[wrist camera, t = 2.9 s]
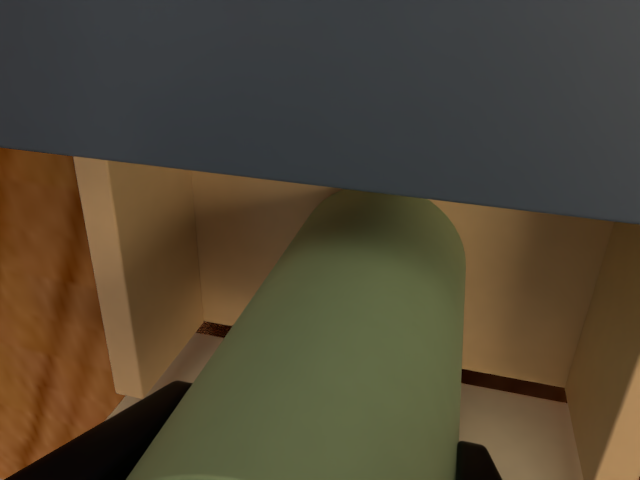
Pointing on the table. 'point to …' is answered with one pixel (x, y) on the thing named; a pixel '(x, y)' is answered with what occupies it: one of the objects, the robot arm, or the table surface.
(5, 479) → the robot arm
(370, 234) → the pepper mill
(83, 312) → the table surface
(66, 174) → the table surface
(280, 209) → the drawer
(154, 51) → the cabinet
